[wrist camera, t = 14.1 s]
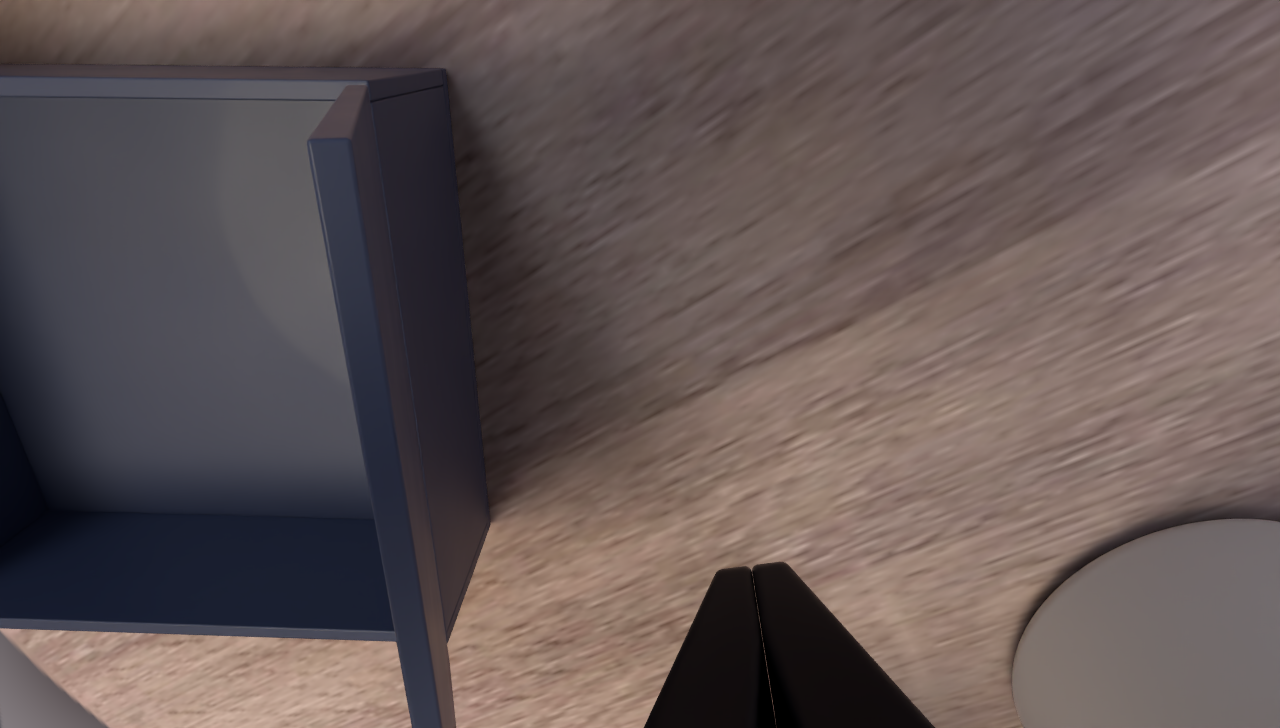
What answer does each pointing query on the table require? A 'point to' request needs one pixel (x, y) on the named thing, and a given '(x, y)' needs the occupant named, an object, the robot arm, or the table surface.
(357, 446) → the carton
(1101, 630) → the cylinder vase
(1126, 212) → the table surface
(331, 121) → the flap
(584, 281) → the table surface
